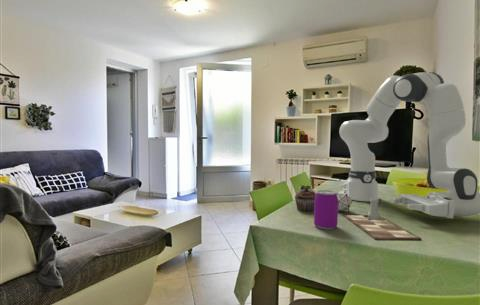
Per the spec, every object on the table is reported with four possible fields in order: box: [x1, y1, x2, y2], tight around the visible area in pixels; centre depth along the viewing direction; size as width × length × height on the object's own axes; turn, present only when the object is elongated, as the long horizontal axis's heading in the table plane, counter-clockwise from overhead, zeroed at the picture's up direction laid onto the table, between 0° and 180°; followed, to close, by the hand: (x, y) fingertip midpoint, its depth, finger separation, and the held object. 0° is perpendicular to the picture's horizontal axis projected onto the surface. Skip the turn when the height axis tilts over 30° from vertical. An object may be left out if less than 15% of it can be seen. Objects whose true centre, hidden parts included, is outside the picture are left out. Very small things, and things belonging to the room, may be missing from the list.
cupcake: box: [294, 185, 317, 213], centre depth 123 cm, size 10×10×10 cm
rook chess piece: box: [366, 197, 381, 220], centre depth 109 cm, size 4×4×8 cm
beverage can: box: [313, 189, 339, 231], centre depth 99 cm, size 8×8×12 cm
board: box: [342, 214, 422, 241], centre depth 101 cm, size 26×14×1 cm, turn 1°
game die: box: [336, 192, 356, 213], centre depth 120 cm, size 9×8×10 cm
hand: (400, 203), depth 109 cm, fingers open, 8 cm apart
